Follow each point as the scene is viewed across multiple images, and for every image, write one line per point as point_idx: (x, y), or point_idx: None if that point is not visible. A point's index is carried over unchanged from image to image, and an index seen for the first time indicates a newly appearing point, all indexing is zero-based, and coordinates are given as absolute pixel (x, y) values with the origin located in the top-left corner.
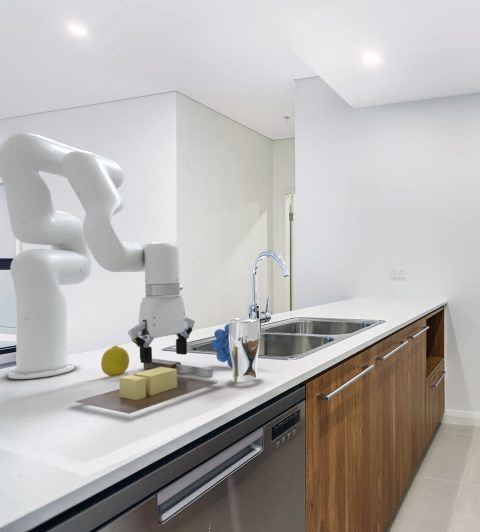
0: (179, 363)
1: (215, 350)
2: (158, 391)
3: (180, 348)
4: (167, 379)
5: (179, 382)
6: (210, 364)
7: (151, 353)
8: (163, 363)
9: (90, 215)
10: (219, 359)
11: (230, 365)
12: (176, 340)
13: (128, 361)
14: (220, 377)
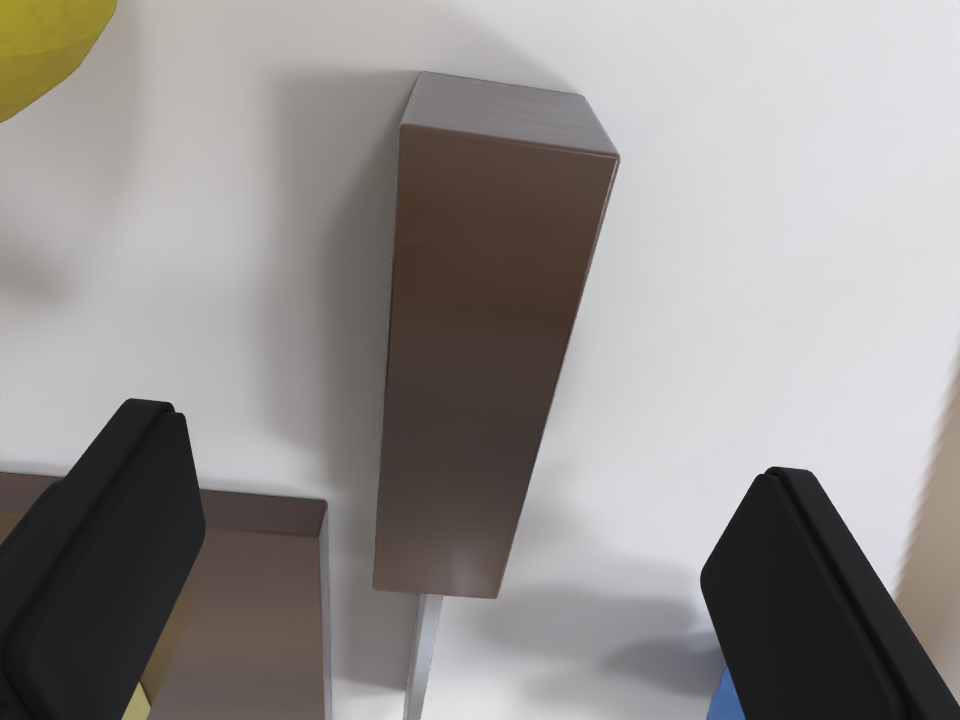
0: (475, 589)
1: None
2: None
3: (759, 608)
4: None
5: (222, 677)
6: (894, 483)
7: (141, 658)
8: (381, 509)
9: None
10: (712, 703)
11: (722, 676)
12: (881, 706)
13: (28, 98)
14: (505, 684)
